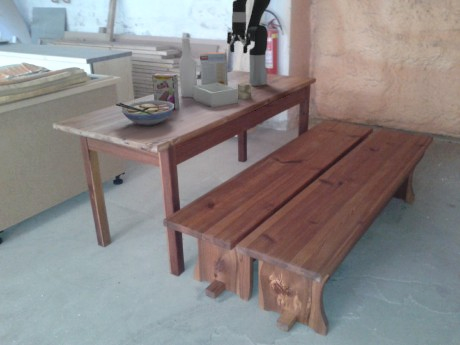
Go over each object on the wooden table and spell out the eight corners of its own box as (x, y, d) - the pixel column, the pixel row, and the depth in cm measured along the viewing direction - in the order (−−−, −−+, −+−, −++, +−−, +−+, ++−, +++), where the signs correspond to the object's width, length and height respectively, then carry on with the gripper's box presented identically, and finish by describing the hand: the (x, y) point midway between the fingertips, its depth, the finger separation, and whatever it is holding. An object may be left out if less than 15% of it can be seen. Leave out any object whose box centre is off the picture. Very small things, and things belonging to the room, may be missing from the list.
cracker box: (228, 90, 254) (227, 51, 245) (226, 92, 248) (225, 53, 240) (203, 90, 255) (201, 52, 247) (201, 92, 250) (199, 53, 241)
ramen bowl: (188, 122, 197) (186, 104, 194) (144, 135, 182) (142, 115, 179) (154, 112, 214) (152, 95, 210) (111, 123, 199) (108, 105, 196)
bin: (218, 95, 242) (217, 82, 240) (237, 102, 228) (237, 88, 225) (193, 99, 235) (192, 86, 232) (212, 107, 220) (211, 92, 218)
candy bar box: (154, 109, 220) (151, 75, 213) (159, 106, 224) (156, 73, 218) (175, 110, 216) (172, 76, 210) (179, 108, 221) (177, 74, 214)
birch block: (245, 96, 240) (245, 82, 237) (251, 97, 236) (251, 84, 233) (238, 97, 238) (237, 84, 235) (243, 99, 234) (243, 85, 231)
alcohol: (182, 93, 248) (178, 37, 237) (198, 93, 247) (195, 36, 236) (179, 97, 240) (175, 39, 228) (196, 97, 239) (192, 38, 228)
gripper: (254, 21, 238) (253, 53, 244) (232, 20, 246) (232, 51, 252) (245, 21, 233) (244, 54, 238) (224, 20, 241) (224, 52, 247)
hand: (238, 52), depth 245 cm, fingers open, 8 cm apart
